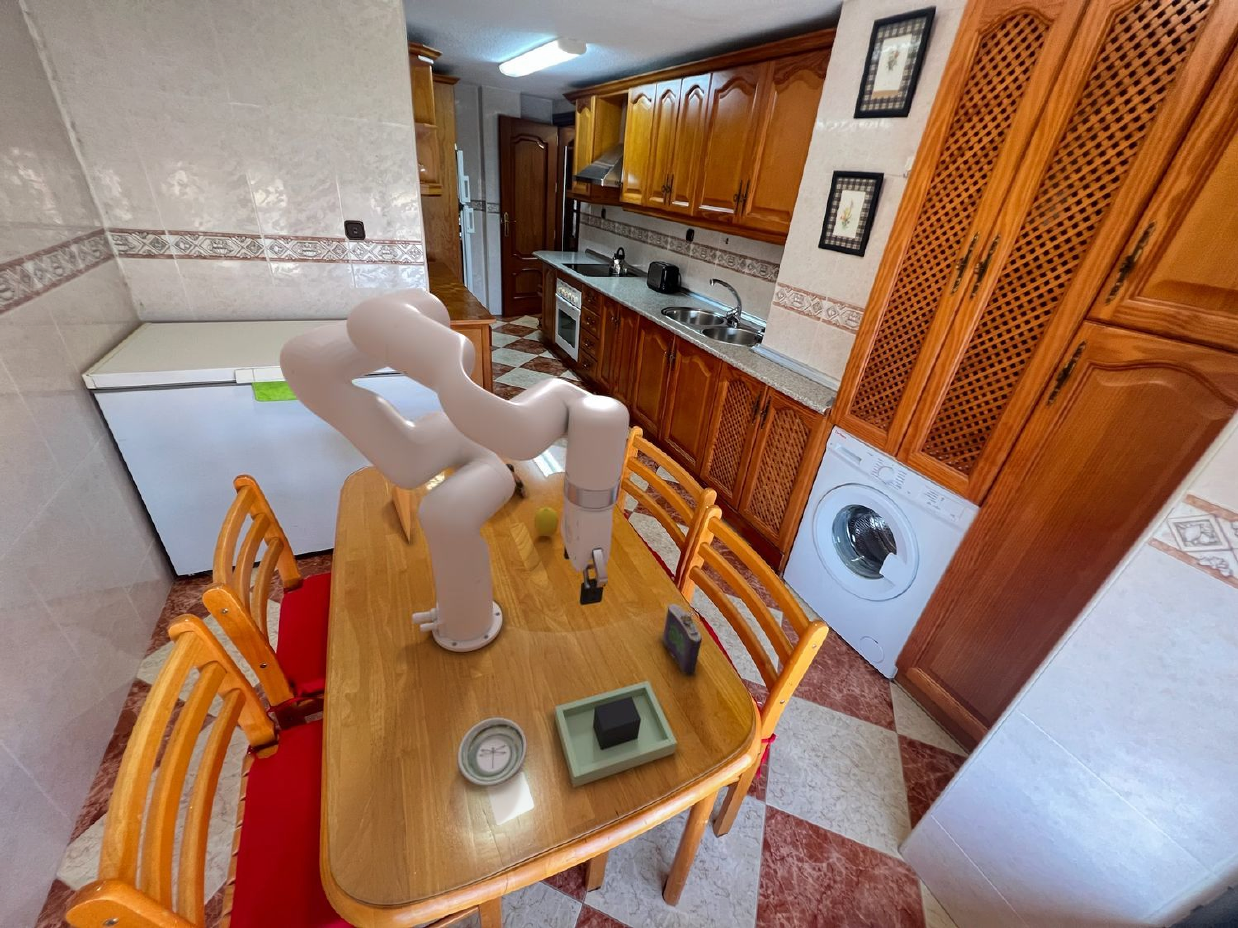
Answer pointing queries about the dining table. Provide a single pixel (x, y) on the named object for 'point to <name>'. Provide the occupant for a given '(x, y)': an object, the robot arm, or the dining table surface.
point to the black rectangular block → (616, 722)
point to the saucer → (492, 752)
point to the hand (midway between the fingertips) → (581, 578)
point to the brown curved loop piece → (516, 479)
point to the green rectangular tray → (596, 763)
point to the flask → (682, 638)
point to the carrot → (402, 507)
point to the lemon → (546, 521)
